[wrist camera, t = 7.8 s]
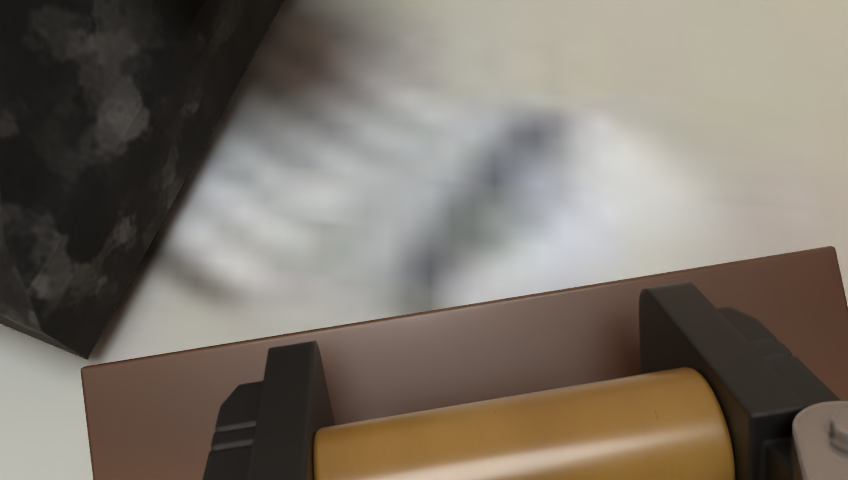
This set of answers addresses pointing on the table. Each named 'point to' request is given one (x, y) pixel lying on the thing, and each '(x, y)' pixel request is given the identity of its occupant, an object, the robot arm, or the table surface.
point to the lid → (485, 385)
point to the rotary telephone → (103, 143)
